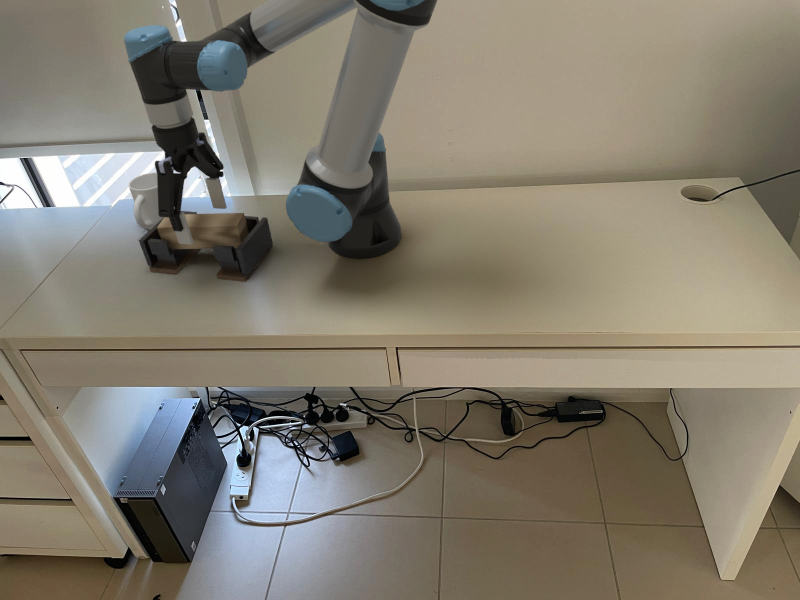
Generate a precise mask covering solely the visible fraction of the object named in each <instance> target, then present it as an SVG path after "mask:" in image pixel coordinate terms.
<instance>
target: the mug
mask: <svg viewBox="0 0 800 600" xmlns="http://www.w3.org/2000/svg"><path fill="white" fill-rule="evenodd" d="M128 188H129V191H130V194H131V197H132V200H133V202H134V203H133V216H134V219H135V222H136V223H137V225H138V226H139V227H140V228H141V229H144V230H145V229H146V230H151V229H152V228H153V227H154V226H155V225H156V224H157V223H158V222H159V221H160V220H161V219H162V218H163V217H160V216H159V214H158V184H157V172H148V173H144V174H141V175H138V176H136V177H134V178H133V179H131V180H130V181H129V182H128ZM174 209H175V207H174Z"/></svg>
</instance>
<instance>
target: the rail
mask: <svg viewBox="0 0 800 600" xmlns="http://www.w3.org/2000/svg"><path fill="white" fill-rule="evenodd" d="M245 216H246V215H245V212H226V213H225V212H224V213H222V212H219V213H218V212H217V213H197V214H185V217H186V220H187V223H188V226H189V229H190V233H191V236H192V239H193V242H194V243H193V244H192V245H190V244H179V242H178V239H177V236H176V233H175V231H174V230H173V228H172V225H171V222H170V219H169V217H164V219H163V220H162V222H161V223H160V224H159V226H158V227H157V229H158V232H159V235H160V237H161V240H169V243H170V246H171V249H200V250H203V249H204V250H206V249H207V250H208V249H212V247H213V246H214V245H225V246H234V248H238V246H239V245H240V244H241V243H242V242H243V240H244V239H245V238H246V237H247V236H248V234H249V231H248V227H247V223H246V219H245Z"/></svg>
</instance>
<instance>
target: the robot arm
mask: <svg viewBox="0 0 800 600" xmlns="http://www.w3.org/2000/svg"><path fill="white" fill-rule="evenodd" d="M437 3H438V0H268V1H266V2H265V3H263V4H261V5H259V6H257V7H256V8H254V9H253V10H251V11H250V12H248V13H246V14H244V15H243V16H241V17H238V18H237V19H236V20H234V21H233V22H231V23H229V24H228V25H226V26H223V28H221V29H218V30H217V31H215V32H213V33H211V34H209V35H207V36H206V37H204V38H202V39H200V40H192V41H186V40H185V41H181V40H179V41H178V40H174V39H173V36H172V35H171V31H170V30H169V28H168V27H167V26H164V25H159V24H152V25H143V26H140V27H136V28H134V29H131V30H129V31H128V32H126V33H125V35H124V38H123V43H124V46H125V51H126V54H127V57H128V63H129V64H130V67H131V70H132V72H133V76H134V78H135V81H136V84H137V87H138V89H139V93H140V97H141V99H142V102H143V104H144V105H143V106H144V109H145V111H146V115H147V117H148V121H149V123H150V125H152V126H151V130H152V134H153V137H154V140H155V143H156V145H157V146H158V147H159V148H160V149H162V151H163V152H164V159H162V160H155V161H154V167H155V171H156V172H155V173H157V184H158V214H159V216H160V217H169V219H170V222H171V225H172V228H173V230H174V231H175V233H176V236H177V239H178V242H179V244H190V245H192V244H193V243H194V242H193V239H192V236H191V233H190V229H189V226H188V223H187V220H186V217H185V214H184V212H181V211H182V202H183V195H184V194H183V193H184V186H185V180H186V179H187V178H188V173H189V172H191V170H192V169H193V168H197V169H198V171H200V172H201V173H203V174H204V175H205V176H206V178H204V180H205V183H206V187H207V190H208V194H209V197H210V201H211V202H210V203H211V204H212V208H213V209H220V210H221V209H223V210H226V209H227V208H228V206H227V202H226V200H225V195H224V192H223V187H222V183H221V179H220V178H223V177H224V174H225V173H224V171H223V170H224V167H225V166H224V163H222V161H221V159H220V158H219V156H218V155H217V154H216V152H215V151H214V149H213V148H212V146H211V145H210V143H209V142H208V139H207V136H206V134H205V132H200V131H198V127H197V123H196V119H195V118H194V117H193V115H194V112H193V108H192V105H191V102H190V98H189V95H188V92H187V90H195V91H213V92H219V93H221V92H225V91H226V92H227V91H237V90H238V89H241V88H242V87H243V85H244V83H245V80H246V79H247V76H248V69H249V68H250V67H252V66H254V65H256V64H257V63H259V62H260V61H262V60H264V59H265V58H267V57H269V56H271V55H273V54H275V53H276V52H277V51H279V50H282V49H283V48H285V47H287V46H289V45H291V44H292V43H295V42H296V41H298V40H300V39H302V38H304V37H305V36H308V35H309V34H311V33H313V32H315V31H316V30H318V29H320V28H322V27H324V26H326V25H327V24H330V23H331V22H333V21H335V20H337V19H338V18H340V17H342V16H344V15H346V14H348V13H349V12H351V11H354V10H355V9H357V11H356V14H355V17H354V21H353V24H352V27H351V31H350V35H349V39H348V43H347V46H346V49H345V52H344V56H343V59H342V62H341V67H340V70H339V73H338V77H337V79H336V84H335V87H334V91H333V94H332V97H331V101H330V105H329V109H328V112H327V116H326V119H325V121H324V126H323V129H322V133H321V136H320V140H319V143H318V145H315V146H313V147H311V148H310V149H309V150H308V151H307V153H306V155H305V158H304V159H305V160H304V162H303V167H302V169H301V173H300V177H299V180H298V182H297V184H296V185H295V186H294V187H292V188H291V189H290V191H289V193H288V195H287V197H286V201H285V210H286V213H287V216H288V219H289V220H290V221H291V222H292V224H293V225H294V227H295V228H296V229H297V230H298V231H299V232H300V233H301V234H303V235H304V236H305V237H308V238H310V239H312V240H315V241H317V242H322V243H328V246H329V248H330V249H331V251H333V252H334V253H336V254H337V255H339V256H341V257H342V256H343V257H347V258H351V259H367V258H368V259H369V258H374V257H379V256H382V255H383V254H386V253H388V252H390V251H391V250H393V249H394V248H396V247H397V245H398V244H400V241H401V239H402V231H401V224H400V221H399V219H398V217H397V214H396V213H395V210H394V208H393V206H392V204H391V201H390V191H389V190H390V189H389V178H388V166H387V153H386V152H387V148H386V146H385V138H384V136H383V134H382V133H381V132H380V130H381V127H382V124H383V122H384V120H385V115H386V113H387V110H388V107H389V105H390V102H391V99H392V96H393V93H394V91H395V88H396V84H397V82H398V80H399V76H400V74H401V71H402V68H403V65H404V63H405V62H404V61H405V59H406V57H407V53H408V51H409V48H410V45H411V42H412V40H413V37H414V34H415V31H418V30H421V29H423V28H425V27H427V26H428V25H429V24H430V21H431V19H432V16H433V13H434V11H435V9H436V5H437ZM174 171H175V172H174ZM174 207H175V209H174Z"/></svg>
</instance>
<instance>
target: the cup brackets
mask: <svg viewBox="0 0 800 600" xmlns="http://www.w3.org/2000/svg"><path fill="white" fill-rule="evenodd" d="M181 212H184V214H198V213H197V211H186V210H181ZM163 219H164V217H163V218H162V219H161V220H160V221H159V222H158V223H157V224H156V225H155V226H154V227H153V228H152V229H151V230H149V231H147V232H146V233H145V234H144V235H143V236H142V237H141V238H140V239H139V240H138V242H139V246H140V247H141V251H142V253H143V256H144V258H145V261H146V265H147V266H148V269H149V272H150V273H158V274H159V273H160V274H168V275H169V274H171V275H178V274H179V273H180V271H182V270H183V268H184V267H185V266H186V265H187V264H188V263H189V262H190V260H191V259H193V257H194V256H195V255H196V254H197V253H199V251H200V250H201V249H171V246H170V243H169V240H161V237H160V235H159V232H158V229H157V227H158V226H159V224H160V223H161V222H162V220H163ZM245 219H246V223H247V227H248V231H249V234H248V236H247V237H246V238H245V239H244V240H243V242H242V243H241V244H240V245H239V246H238V248H234V246H225V245H214V246H213V247H212V248H211V249H212V252H213V255H214V258H215V259H214V260H215V261H216V262H219V264H220V265H219V266H220V269H219V271H218V272H216V274H215V276H216V278H217V280H224V281H225V280H226V281H227V280H228V281H236V282H243V283H244V282H247V280H248V279H249V277H250V276H251V275H252V273H253V272H254V271H255V269H256V268H257V267H258V266H259V264H260V262H261V261H263V259H264V258H265V256H266V255H267V254H268V252H269V251H270V250H271V248H273V243H274V242H273V237H272V233H271V232H272V231H271V229H270V224H269V218H268V217H265V216H264V217H261V219H260V218H259V216H250V215H245Z"/></svg>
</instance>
